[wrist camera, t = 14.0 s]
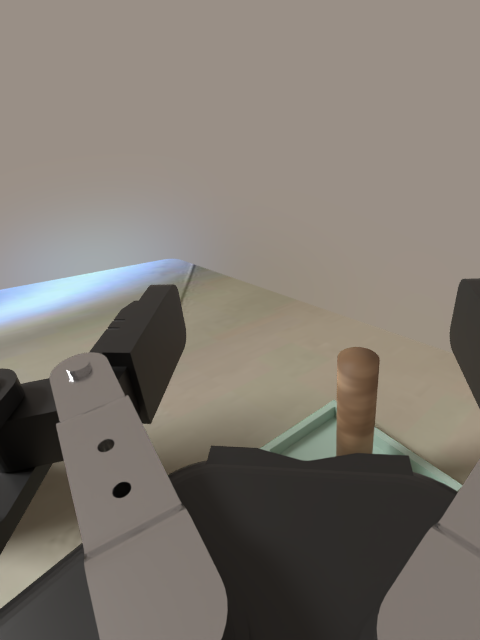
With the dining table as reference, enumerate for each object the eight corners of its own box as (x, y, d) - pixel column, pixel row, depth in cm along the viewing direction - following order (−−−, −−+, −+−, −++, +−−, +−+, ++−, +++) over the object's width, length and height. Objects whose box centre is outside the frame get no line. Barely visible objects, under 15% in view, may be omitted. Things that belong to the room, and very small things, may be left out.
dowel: (328, 475, 40) (328, 358, 33) (351, 458, 42) (356, 342, 35) (354, 498, 38) (360, 376, 31) (377, 478, 40) (388, 358, 33)
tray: (259, 466, 43) (257, 449, 42) (333, 416, 49) (333, 399, 47) (379, 584, 33) (381, 566, 31) (458, 503, 38) (462, 485, 36)
